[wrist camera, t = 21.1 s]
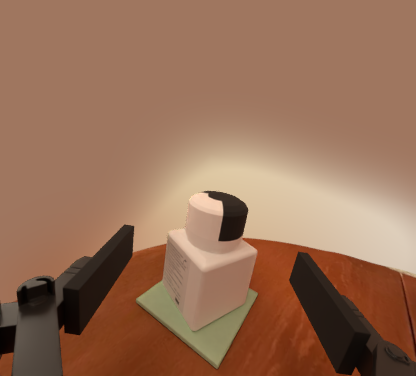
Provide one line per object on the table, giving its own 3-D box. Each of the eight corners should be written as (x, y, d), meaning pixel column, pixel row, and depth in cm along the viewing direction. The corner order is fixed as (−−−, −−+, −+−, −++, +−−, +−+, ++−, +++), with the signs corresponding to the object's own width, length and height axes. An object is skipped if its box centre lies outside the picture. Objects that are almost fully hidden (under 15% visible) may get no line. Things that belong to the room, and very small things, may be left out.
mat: (135, 302, 23) (136, 298, 23) (192, 259, 32) (192, 257, 32) (217, 369, 18) (218, 366, 18) (257, 296, 27) (258, 293, 27)
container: (208, 267, 30) (223, 185, 27) (245, 304, 25) (270, 206, 21) (161, 283, 26) (171, 187, 22) (192, 334, 20) (213, 215, 16)
